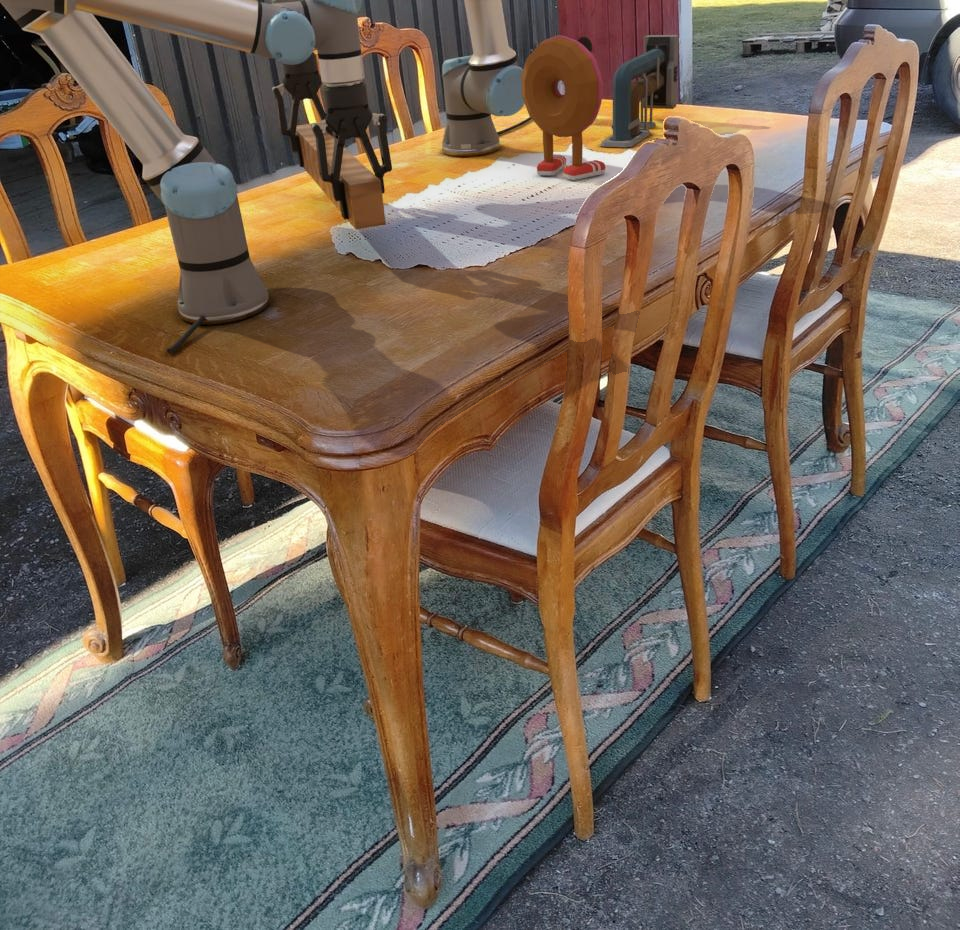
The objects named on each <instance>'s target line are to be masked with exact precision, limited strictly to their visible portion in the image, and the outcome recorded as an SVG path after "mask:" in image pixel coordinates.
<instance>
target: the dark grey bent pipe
mask: <svg viewBox="0 0 960 930" xmlns="http://www.w3.org/2000/svg"><path fill="white" fill-rule="evenodd" d="M678 59H679V34H651V35H649V34H648V35H645V36H644V37H643V53H642V54H639V55H638V56H636V57H633V58H631V59H629V60H627V61H625V62H623V63H621V64H620V66H619V67H617V69H616V70H615V72H614V73H613V74H614V75H613V79H612V123H611V129H612V135H610V136H608V137H606V138H605V139H603V140H601V142H600V144H599V146H600V147H604V148H605V147H606V148H608V147H609V148H610V147H611V148H632V147H633V146H635V145H637V144H638V143H640V142H641V141H643V140H644V139H646V138H647V137H649V136H651V135H652V133H651V131H650V129H653V128H655V127H656V126H657V124H656V122H654V121H653V111H654V109H659V110H662V109H665V110H673V109H675V108H676V107H677V100H678V98H677V96H678V66H679V65H678V63H679V61H678ZM637 78H640V79H638V80H636V81H634V82H632V81H633V80H635V79H637ZM648 109H649V121H648Z"/></svg>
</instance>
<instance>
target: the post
mask: <svg viewBox="0 0 960 930" xmlns="http://www.w3.org/2000/svg"><path fill="white" fill-rule="evenodd" d="M312 123H313V122H311V123H305V124H299V125H298V124H297V127H296V135H298V136H299V138H300V144H301V150H302V156H303V162H304V167H302V168H303V169H304V170H305V172H306V173H307V174H308V176H309V177H311V179H312V180H313V181H314V182H315V184H316V185H317V186H318V187H319V188H320V189H321V191H322V192H323V193H324V194H325V195H326V197H328V199H329V200H330V202H332V204H333V205H334V206H335V207H336V208H337V209H338V211H339V212H340V213H341V207H340V201H336V200H335V199H334V197H333V192H332V185H331V183H330V182H324V181H323V180H322V179H321V178H320V174H319V165H318V156H317V147H316V138H315V135H314V133H313V131H312V129H311V124H312ZM324 138H325V146H326V155H327V165H328V174H330V173H331V166H332V158H333V150H334V136H333V137H332V136H331V135H330V134H329V133H328V132H326V133H325V134H324ZM339 180H341V181H342V182H343V183H344V189H345V196H346V203H347V210H348V217H349V219H346V220H347V221H348V222H349V223H350V225H351V226H352V227H353V228H354V229H355V230H362V229H369V228H373V227H374V228H375V227H380V226H385V225H387V222H386V215H385V205H384V198H383V194H382V189H381V181H380V179H379V178H377V177H376V176H375V173H374V172H372V171H371V170H370V169H369V168H368V167H366V166H365V165H364V164H363V163H362V162H361V161H360V160H359V159H358V158H357V157H356V156H354V155H353V154H352V152H350V151H348V149H347V148H346V147H344V149H343V156H342V164H341V171H340V179H339Z"/></svg>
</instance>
